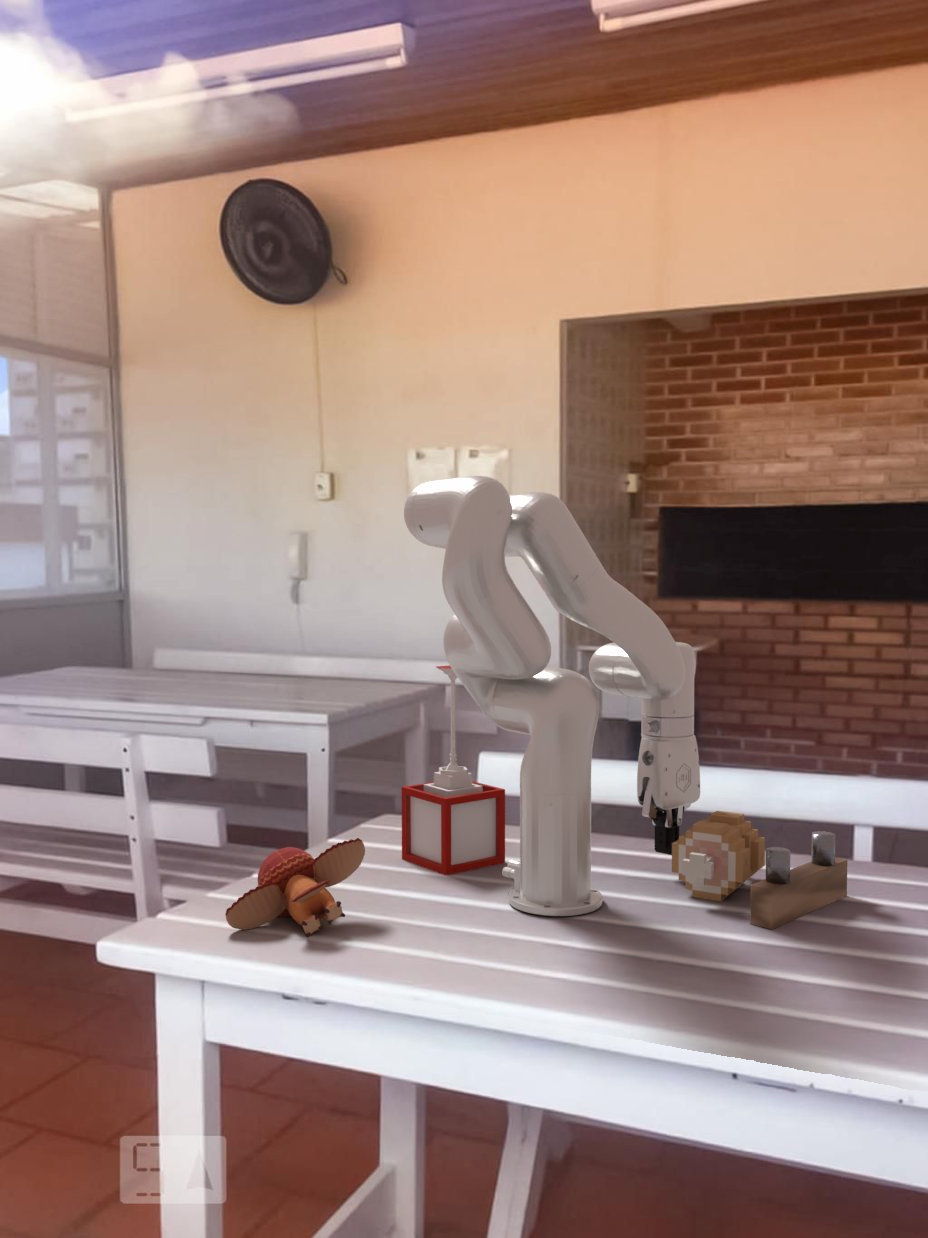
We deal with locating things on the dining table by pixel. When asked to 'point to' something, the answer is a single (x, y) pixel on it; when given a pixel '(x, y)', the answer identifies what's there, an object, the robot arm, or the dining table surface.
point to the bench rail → (798, 883)
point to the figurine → (297, 887)
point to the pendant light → (453, 817)
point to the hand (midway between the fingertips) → (666, 852)
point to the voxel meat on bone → (718, 855)
